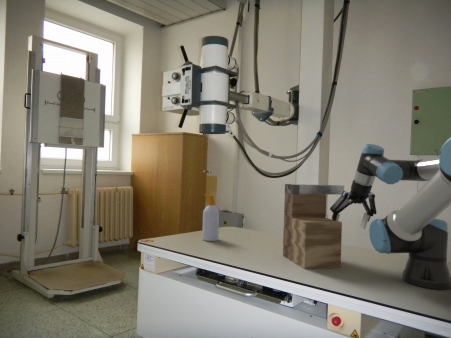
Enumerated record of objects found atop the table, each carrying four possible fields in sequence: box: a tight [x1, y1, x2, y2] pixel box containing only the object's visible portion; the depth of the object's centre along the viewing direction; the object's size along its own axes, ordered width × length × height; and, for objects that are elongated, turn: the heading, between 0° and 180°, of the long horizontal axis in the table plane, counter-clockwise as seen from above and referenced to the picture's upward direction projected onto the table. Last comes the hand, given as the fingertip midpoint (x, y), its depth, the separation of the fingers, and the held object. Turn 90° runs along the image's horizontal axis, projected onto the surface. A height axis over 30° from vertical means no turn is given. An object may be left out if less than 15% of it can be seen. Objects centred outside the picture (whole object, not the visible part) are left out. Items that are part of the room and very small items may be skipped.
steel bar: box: [284, 183, 345, 196], centre depth 152 cm, size 8×26×4 cm, turn 105°
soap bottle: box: [201, 193, 220, 242], centre depth 183 cm, size 9×9×24 cm
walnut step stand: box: [282, 192, 343, 270], centre depth 145 cm, size 20×16×28 cm
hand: (347, 227), depth 146 cm, fingers open, 13 cm apart
